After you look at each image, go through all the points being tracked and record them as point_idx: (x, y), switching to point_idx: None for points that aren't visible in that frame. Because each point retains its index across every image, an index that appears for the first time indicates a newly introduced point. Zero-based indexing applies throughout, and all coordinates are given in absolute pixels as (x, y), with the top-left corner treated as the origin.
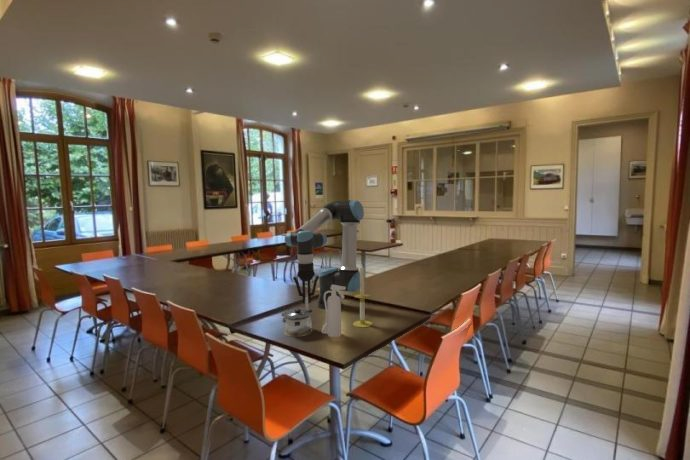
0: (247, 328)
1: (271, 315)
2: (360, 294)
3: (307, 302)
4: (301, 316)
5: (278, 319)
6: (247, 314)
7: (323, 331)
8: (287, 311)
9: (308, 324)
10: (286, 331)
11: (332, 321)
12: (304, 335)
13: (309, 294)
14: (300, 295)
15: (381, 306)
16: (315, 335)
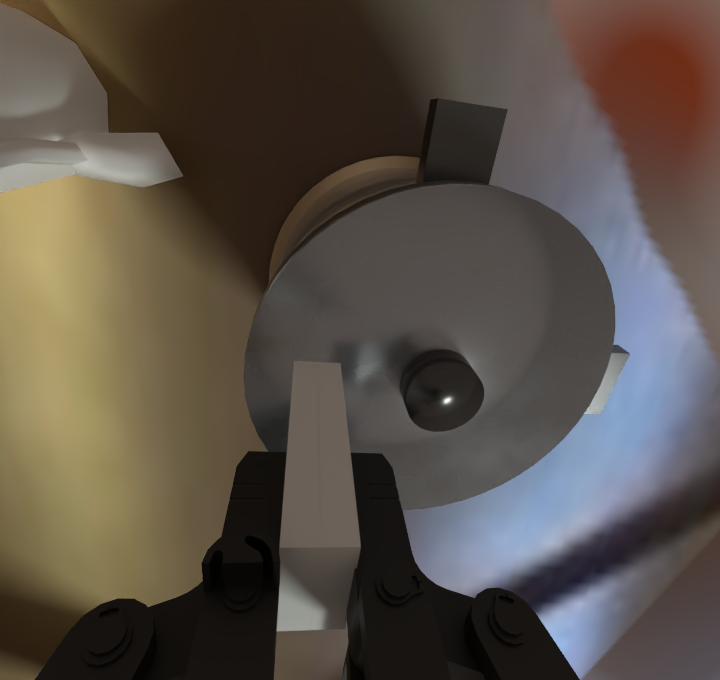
0: (705, 418)
1: (513, 574)
2: None
3: (304, 446)
4: (417, 189)
5: (488, 521)
6: (628, 594)
7: (143, 134)
8: (542, 434)
9: (306, 229)
10: None
11: None
12: (351, 166)
13: (227, 632)
14: (493, 601)
15: None
16: (244, 170)
